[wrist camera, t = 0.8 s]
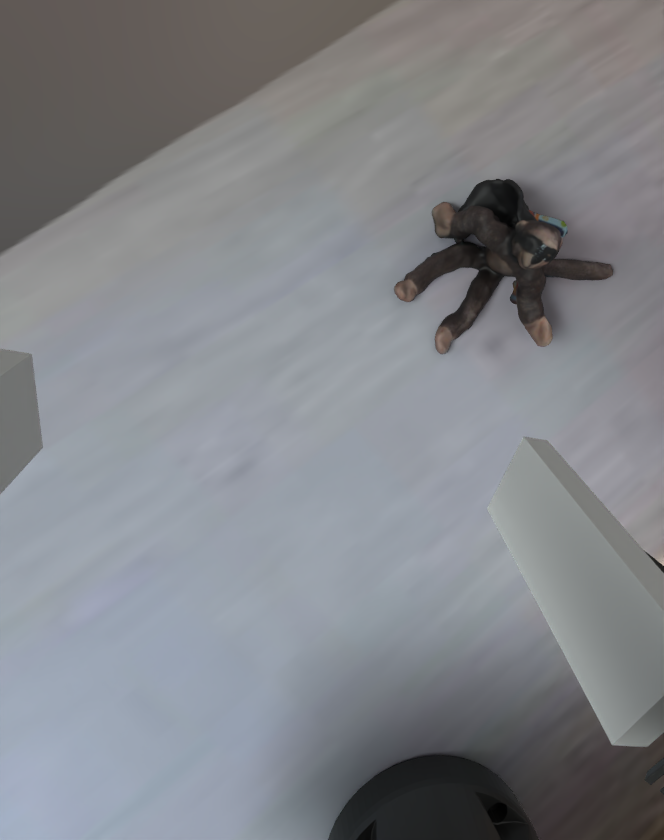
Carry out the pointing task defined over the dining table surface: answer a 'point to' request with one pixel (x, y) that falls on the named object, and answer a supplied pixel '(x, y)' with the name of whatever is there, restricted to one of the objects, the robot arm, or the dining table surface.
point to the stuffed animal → (498, 258)
